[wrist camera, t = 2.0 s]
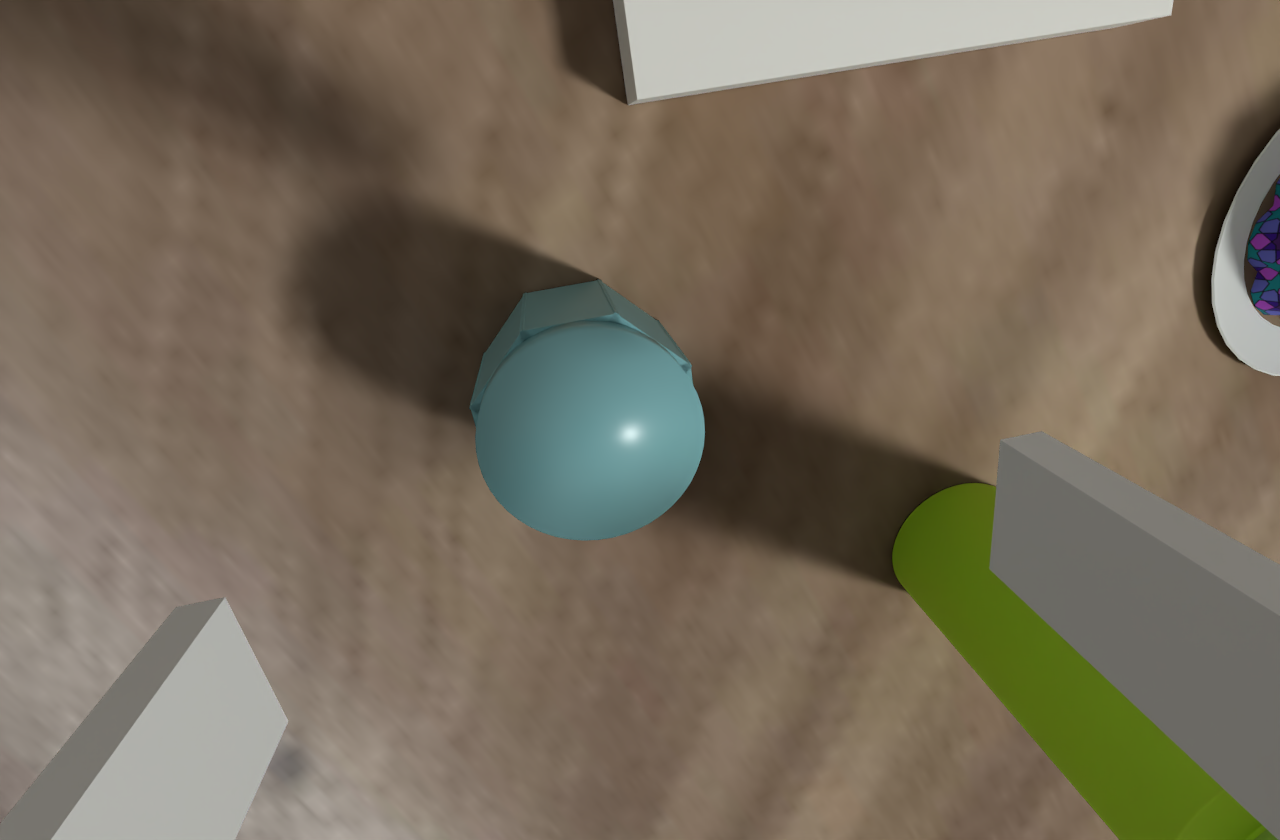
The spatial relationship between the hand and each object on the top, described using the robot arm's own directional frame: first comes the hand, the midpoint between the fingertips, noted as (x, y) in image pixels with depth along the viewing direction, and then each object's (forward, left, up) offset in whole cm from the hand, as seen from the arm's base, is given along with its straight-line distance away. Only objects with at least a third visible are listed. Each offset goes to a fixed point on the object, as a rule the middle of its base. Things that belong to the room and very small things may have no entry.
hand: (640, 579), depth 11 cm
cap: (0, 0, -12) cm, 12 cm away
